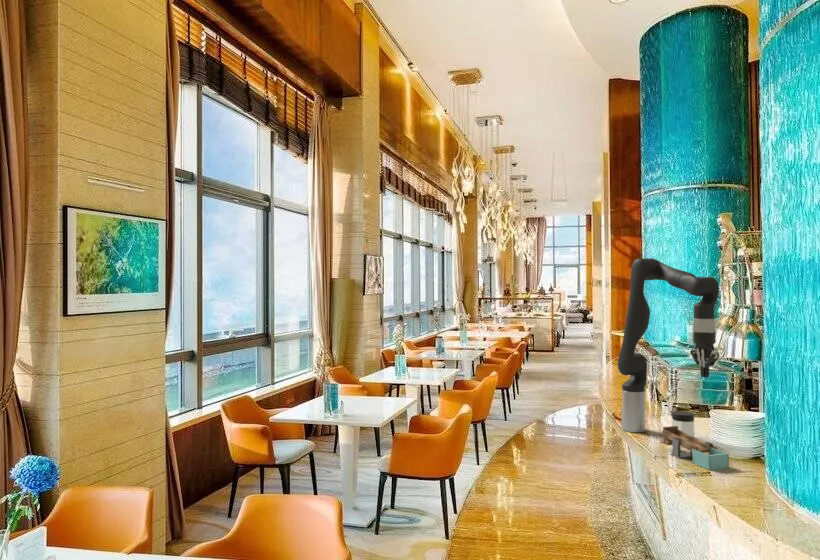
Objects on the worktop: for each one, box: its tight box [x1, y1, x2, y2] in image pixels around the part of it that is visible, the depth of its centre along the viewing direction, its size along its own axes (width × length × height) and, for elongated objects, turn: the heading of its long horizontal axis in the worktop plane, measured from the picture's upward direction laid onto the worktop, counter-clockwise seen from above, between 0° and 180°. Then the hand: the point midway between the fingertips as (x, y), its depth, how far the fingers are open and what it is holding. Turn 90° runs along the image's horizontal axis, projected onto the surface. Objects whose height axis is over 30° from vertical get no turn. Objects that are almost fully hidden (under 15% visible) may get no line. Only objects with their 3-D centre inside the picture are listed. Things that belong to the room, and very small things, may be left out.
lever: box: [662, 425, 718, 454], centre depth 229 cm, size 18×10×6 cm, turn 15°
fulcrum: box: [670, 437, 699, 460], centre depth 228 cm, size 5×9×6 cm, turn 105°
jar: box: [671, 410, 696, 437], centre depth 246 cm, size 9×8×12 cm
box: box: [691, 447, 730, 471], centre depth 216 cm, size 9×8×5 cm
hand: (704, 377), depth 229 cm, fingers closed
